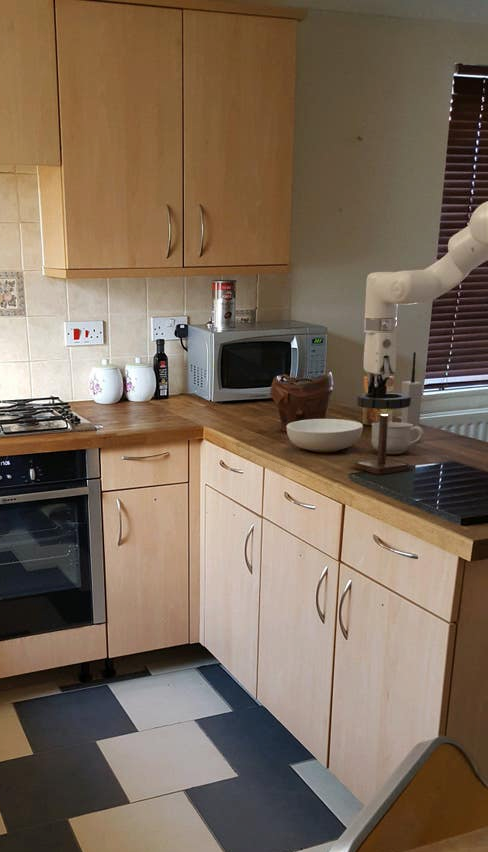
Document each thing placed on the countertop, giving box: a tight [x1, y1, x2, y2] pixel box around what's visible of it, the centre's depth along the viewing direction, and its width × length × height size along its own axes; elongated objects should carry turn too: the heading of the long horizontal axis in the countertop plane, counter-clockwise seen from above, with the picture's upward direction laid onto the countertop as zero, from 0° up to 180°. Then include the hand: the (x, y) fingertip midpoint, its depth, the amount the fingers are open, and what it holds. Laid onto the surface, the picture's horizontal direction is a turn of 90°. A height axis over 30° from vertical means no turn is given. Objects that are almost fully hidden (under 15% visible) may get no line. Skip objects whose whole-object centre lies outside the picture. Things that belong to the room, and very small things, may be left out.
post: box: [355, 414, 409, 475], centre depth 216 cm, size 9×9×14 cm
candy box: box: [361, 375, 395, 426], centre depth 277 cm, size 9×4×15 cm, turn 44°
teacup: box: [371, 421, 425, 455], centre depth 234 cm, size 14×11×8 cm
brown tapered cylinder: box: [269, 371, 334, 433], centre depth 271 cm, size 18×20×18 cm
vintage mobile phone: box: [400, 351, 423, 441], centre depth 248 cm, size 4×5×25 cm
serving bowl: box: [286, 418, 364, 453], centre depth 243 cm, size 21×21×7 cm
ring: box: [356, 392, 411, 410], centre depth 213 cm, size 12×12×2 cm
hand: (376, 401), depth 218 cm, fingers closed on ring, 2 cm apart
